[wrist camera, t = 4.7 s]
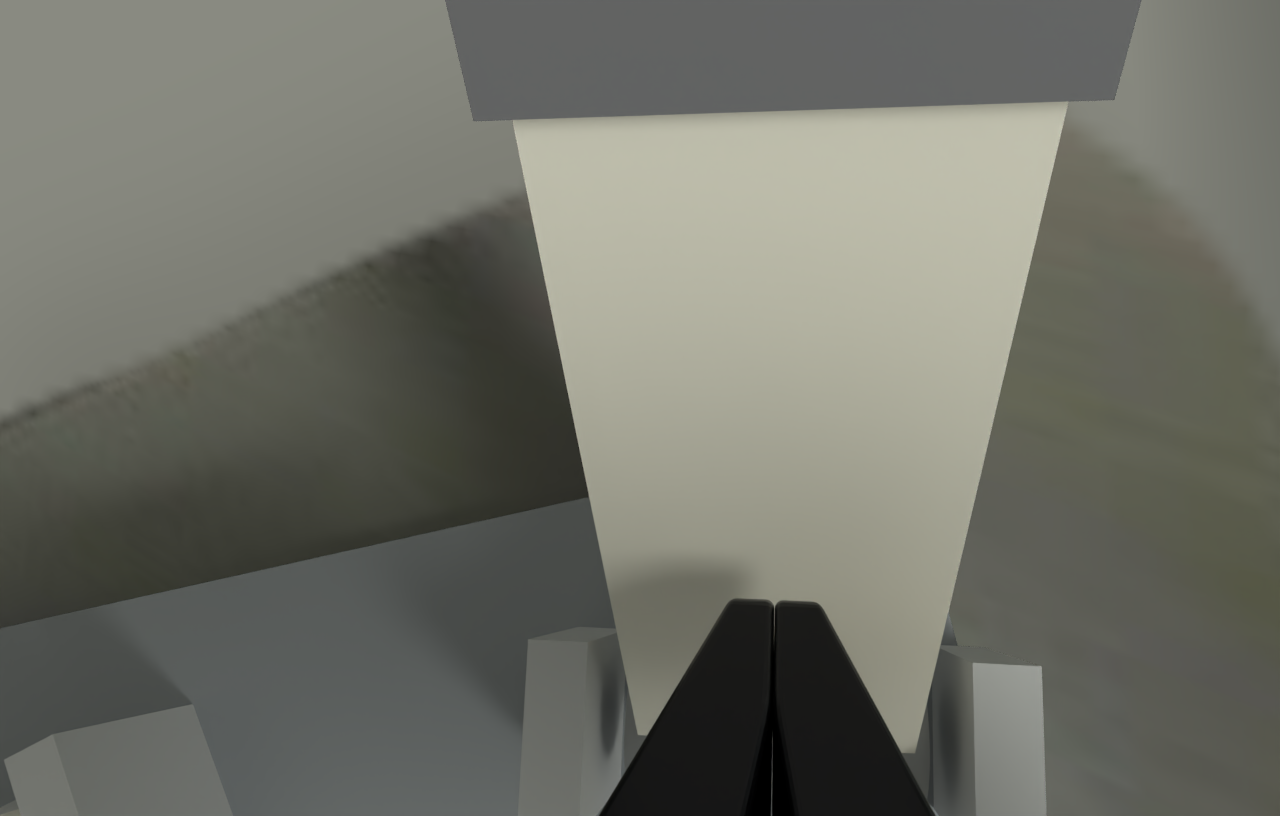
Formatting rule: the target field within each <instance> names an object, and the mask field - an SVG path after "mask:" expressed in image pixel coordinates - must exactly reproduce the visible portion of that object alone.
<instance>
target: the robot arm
mask: <svg viewBox="0 0 1280 816" xmlns="http://www.w3.org/2000/svg"><path fill="white" fill-rule="evenodd" d="M772 739H773V747H772ZM771 800H772V816H936V815H935V814H934V812H933V810H932V808H931V806H930V804H929V802H928V801H927V799H926V797H925V795H924V793H923V791H922V790H921V788H920V786H919V784H918V782H917V780H916V778H915V777H914V775H913V773H912V771H911V769H910V767H909V766H908V764H907V762H906V760H905V758H904V756H903V755H902V753H901V751H900V749H899V747H898V745H897V743H896V742H895V740H894V738H893V736H892V734H891V732H890V731H889V729H888V727H887V725H886V723H885V721H884V719H883V718H882V716H881V714H880V712H879V710H878V708H877V707H876V705H875V703H874V701H873V699H872V697H871V695H870V694H869V692H868V690H867V688H866V686H865V684H864V683H863V681H862V679H861V677H860V675H859V673H858V672H857V670H856V668H855V666H854V664H853V662H852V660H851V659H850V657H849V655H848V653H847V651H846V649H845V648H844V646H843V644H842V642H841V640H840V638H839V636H838V635H837V633H836V631H835V629H834V627H833V625H832V624H831V622H830V620H829V618H828V616H827V614H826V613H825V611H824V609H823V608H822V607H821V605H820V604H818V603H817V602H812V601H790V600H781V601H779V602H777V604H776V605H775V620H774V605H773V603H772V602H771V601H769V600H766V599H744V598H734V599H732V600H730V601H729V602H728V603H727V604H726V606H725V607H724V609H723V611H722V612H721V614H720V615H719V617H718V619H717V620H716V622H715V624H714V625H713V627H712V629H711V630H710V632H709V634H708V635H707V637H706V639H705V640H704V642H703V644H702V645H701V647H700V649H699V650H698V652H697V654H696V655H695V657H694V658H693V660H692V662H691V663H690V665H689V667H688V668H687V670H686V672H685V673H684V675H683V677H682V678H681V680H680V682H679V683H678V685H677V687H676V688H675V690H674V692H673V693H672V695H671V696H670V698H669V700H668V701H667V703H666V705H665V706H664V708H663V710H662V711H661V713H660V715H659V716H658V718H657V720H656V721H655V723H654V725H653V726H652V728H651V730H650V731H649V733H648V735H647V736H646V738H645V739H644V741H643V743H642V744H641V746H640V748H639V749H638V751H637V753H636V754H635V756H634V758H633V759H632V761H631V763H630V764H629V766H628V768H627V769H626V771H625V773H624V774H623V776H622V778H621V779H620V781H619V782H618V784H617V786H616V787H615V789H614V791H613V792H612V794H611V796H610V797H609V799H608V801H607V802H606V804H605V806H604V807H603V809H602V811H601V812H600V814H599V816H771Z"/></svg>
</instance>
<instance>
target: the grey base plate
mask: <svg viewBox="0 0 1280 816" xmlns="http://www.w3.org/2000/svg"><path fill="white" fill-rule="evenodd" d="M627 693H628V684H627V680H626V675H625V670H624V665H623V660H622V655H621V650H620V645H619V640H618V636H617V631H616V626H615V621H614V616H613V611H612V606H611V601H610V596H609V591H608V587H607V582H606V577H605V572H604V567H603V562H602V557H601V552H600V547H599V543H598V538H597V533H596V528H595V523H594V518H593V513H592V508H591V503H590V499H589V497H586V498H582V499H577V500H573V501H569V502H564V503H560V504H555V505H551V506H546V507H542V508H537V509H533V510H528V511H524V512H519V513H515V514H510V515H506V516H501V517H497V518H492V519H488V520H483V521H479V522H474V523H470V524H465V525H461V526H456V527H452V528H447V529H443V530H438V531H434V532H429V533H425V534H420V535H416V536H412V537H407V538H403V539H398V540H394V541H389V542H385V543H380V544H376V545H371V546H367V547H362V548H358V549H353V550H349V551H344V552H340V553H335V554H331V555H326V556H322V557H317V558H313V559H308V560H304V561H299V562H295V563H290V564H286V565H281V566H277V567H272V568H268V569H263V570H259V571H255V572H250V573H246V574H241V575H237V576H232V577H228V578H223V579H219V580H214V581H210V582H205V583H201V584H196V585H192V586H187V587H183V588H178V589H174V590H169V591H165V592H160V593H156V594H151V595H147V596H142V597H138V598H133V599H129V600H124V601H120V602H115V603H111V604H106V605H102V606H98V607H93V608H89V609H84V610H80V611H75V612H71V613H66V614H62V615H57V616H53V617H48V618H44V619H39V620H35V621H30V622H26V623H21V624H17V625H12V626H8V627H3V628H0V808H1V807H3V806H4V805H6V804H8V803H10V802H12V801H14V800H16V801H17V805H18V808H19V811H20V814H21V816H599V814H600V812H601V811H602V809H603V807H604V806H605V804H606V802H607V801H608V799H609V797H610V796H611V794H612V792H613V791H614V789H615V787H616V786H617V784H618V782H619V781H620V779H621V778H622V776H623V774H624V773H625V765H624V729H625V713H626V702H627ZM927 710H928V721H929V740H930V774H929V789H928V797H927V801H928V802H929V804H930V806H931V808H932V810H933V812H934V814H935V815H936V816H1046V786H1045V755H1044V724H1043V694H1042V666H1039V665H1036V664H1033V663H1030V662H1027V661H1024V660H1021V659H1018V658H1015V657H1012V656H1009V655H1006V654H1004V653H1001V652H998V651H995V650H992V649H989V648H986V647H970V646H958V645H957V642H956V638H955V634H954V630H953V627H952V623H951V619H950V615H949V612H948V615H947V619H946V624H945V628H944V632H943V636H942V641H941V645H940V649H939V653H938V658H937V662H936V666H935V670H934V675H933V679H932V683H931V687H930V692H929V696H928V700H927ZM771 816H772V800H771Z"/></svg>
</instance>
